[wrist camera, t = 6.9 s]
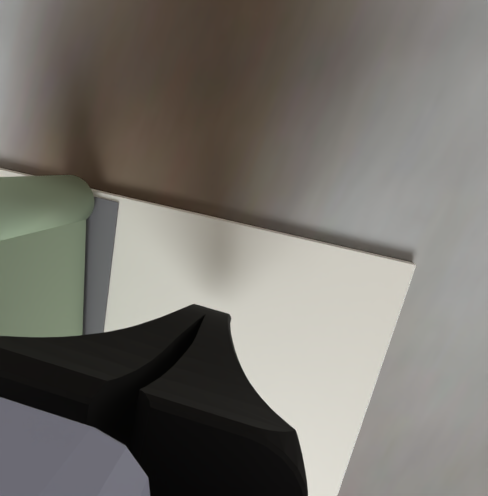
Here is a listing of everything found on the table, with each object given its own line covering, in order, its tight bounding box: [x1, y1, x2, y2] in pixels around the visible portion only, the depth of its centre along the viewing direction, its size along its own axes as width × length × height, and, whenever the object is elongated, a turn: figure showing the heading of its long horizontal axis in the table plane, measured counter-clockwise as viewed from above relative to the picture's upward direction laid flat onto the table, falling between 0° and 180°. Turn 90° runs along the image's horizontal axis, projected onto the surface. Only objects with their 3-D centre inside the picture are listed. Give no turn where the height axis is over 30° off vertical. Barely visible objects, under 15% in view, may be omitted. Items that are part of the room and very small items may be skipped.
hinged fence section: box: [0, 175, 94, 337], centre depth 12 cm, size 13×2×5 cm, turn 172°
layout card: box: [0, 168, 416, 496], centre depth 16 cm, size 22×20×1 cm
